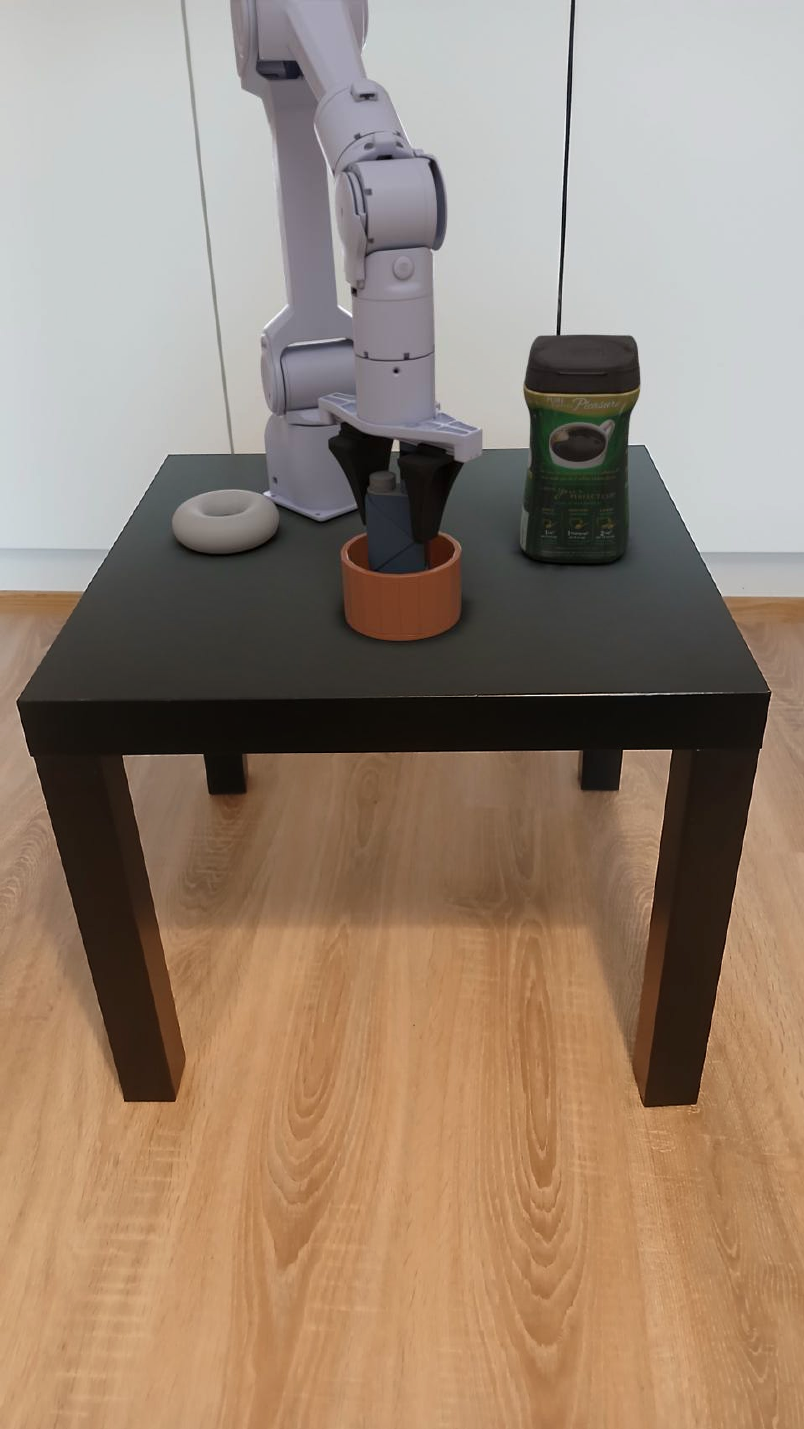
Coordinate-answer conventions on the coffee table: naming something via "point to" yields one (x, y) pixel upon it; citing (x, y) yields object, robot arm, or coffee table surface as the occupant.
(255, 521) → the donut
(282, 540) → the coffee table surface
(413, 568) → the vaping device
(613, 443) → the coffee jar
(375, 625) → the jar
